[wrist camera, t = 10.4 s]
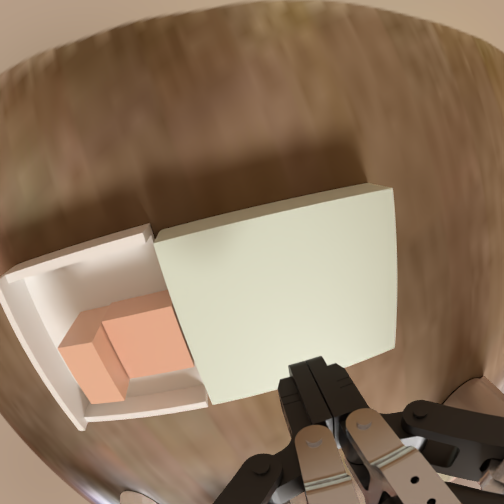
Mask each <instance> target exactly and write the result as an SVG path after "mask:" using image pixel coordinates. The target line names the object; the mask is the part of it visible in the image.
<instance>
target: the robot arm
mask: <svg viewBox="0 0 504 504" xmlns="http://www.w3.org/2000/svg"><path fill="white" fill-rule="evenodd" d="M288 369H289V375H290V377H287V378H283V379H280V381H279V385H278V393H279V397H280V402H281V407H282V411H283V414H284V417H285V420H286V423H287V426H288V430H289V433H290V436H291V442H290V443H289V445H288V446H287V447H286V448H285V449H283V450H282V451H280V452H278V453H277V454H275V455H270V454H257V455H254V456H252V457H250V458H248V459H247V460H246V461H245V462H244V464H243V465H242V466H241V468H240V469H239V470H238V472H237V473H236V475H235V476H234V477H233V479H232V480H231V481H230V483H229V484H228V485H227V486H226V488H225V489H224V490H223V492H222V493H221V494H220V495H219V497H218V498H217V499H216V501H215V502H214V503H213V504H288V502H289V500H290V499H292V498H294V497H295V496H297V495H299V494H301V493H302V492H304V491H305V496H306V500H307V504H360V502H359V500H358V497H357V494H356V491H355V488H354V485H353V482H352V480H351V478H350V476H349V475H347V474H346V471H345V468H344V465H343V462H342V459H341V457H340V454H339V451H338V449H340V448H342V450H343V452H344V454H345V456H344V460H345V463H346V465H347V467H348V469H349V470H350V472H351V474H352V475H353V477H354V479H355V481H356V482H357V484H358V486H359V487H360V489H361V491H362V493H363V495H364V497H365V502H366V504H504V394H503V393H502V392H501V391H500V390H499V389H498V388H497V387H496V386H495V385H493V384H492V383H491V382H490V381H489V380H488V379H487V378H486V377H485V376H483V377H482V378H480V379H479V378H474V379H471V380H469V381H468V382H466V383H464V384H463V385H462V386H461V387H459V388H458V389H457V390H456V391H455V392H454V393H453V394H452V395H451V396H450V397H449V398H448V399H447V400H446V401H445V403H444V404H443V405H442V404H438V403H433V402H429V401H425V400H417V401H414V402H411V403H410V404H408V405H407V406H406V407H405V409H404V411H403V412H398V413H391V414H381V413H378V412H377V411H376V410H373V409H371V408H369V406H368V405H367V403H366V402H365V400H364V399H363V397H362V395H361V394H360V392H359V391H358V389H357V387H356V386H355V384H354V383H353V381H352V380H351V378H350V377H349V375H348V373H347V372H346V370H345V369H344V368H343V367H341V366H340V365H338V364H337V363H334V364H331V365H328V366H327V364H326V362H325V360H324V359H323V357H322V356H318V357H315V358H312V359H308V360H305V361H302V362H298V363H294V364H291V365H288ZM436 472H437V473H441V474H445V475H449V476H454V477H458V478H463V479H467V480H472V481H477V482H478V484H479V485H480V486H481V490H479V489H475V488H471V487H467V486H463V485H459V484H455V483H451V482H444V481H443V480H442V479H441V478H440V476H439V475H438V474H437V473H436Z"/></svg>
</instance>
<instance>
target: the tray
mask: <svg viewBox="0 0 504 504" xmlns="http://www.w3.org/2000/svg"><path fill="white" fill-rule="evenodd" d="M154 241H155V239H154V235H153V232H152V228H151V225H150V223H148V224H144V225H141V226H137V227H134V228H130V229H127V230H123V231H120V232H116V233H113V234H109V235H106V236H103V237H99V238H96V239H93V240H90V241H86V242H83V243H80V244H77V245H73V246H70V247H67V248H64V249H61V250H58V251H55V252H52V253H49V254H46V255H43V256H40V257H37V258H34V259H31V260H28V261H25V262H22V263H19V264H17V265H15V266H14V267H13V268H11V269H10V270H8V271H7V272H6V273H4V274H3V275H2V276H0V303H1V305H2V307H3V309H4V311H5V313H6V316H7V318H8V320H9V322H10V324H11V326H12V328H13V330H14V332H15V334H16V336H17V337H18V339H19V341H20V343H21V345H22V347H23V348H24V350H25V352H26V354H27V355H28V357H29V359H30V361H31V362H32V364H33V366H34V367H35V369H36V371H37V372H38V374H39V375H40V377H41V378H42V380H43V382H44V383H45V385H46V386H47V388H48V389H49V391H50V392H51V394H52V395H53V396H54V398H55V399H56V401H57V402H58V404H59V405H60V406H61V408H62V409H63V410H64V412H65V413H66V414H67V416H68V417H69V418H70V420H71V421H72V422H73V424H74V425H75V426H76V427H77V429H78V430H79V431H85V429H86V426H87V422H97V421H111V420H122V419H132V418H140V417H149V416H156V415H163V414H170V413H176V412H182V411H188V410H194V409H199V408H204V407H208V400H207V390H206V388H205V386H204V383H203V381H202V379H201V376H200V374H199V371H198V369H197V366H196V364H195V361H194V367H192V368H187V369H182V370H177V371H171V372H166V373H161V374H155V375H149V376H143V377H137V378H131V379H130V381H129V385H128V389H127V394H126V398H125V401H119V402H110V403H100V404H91V403H90V401H89V400H88V398H87V397H86V395H85V394H84V392H83V390H82V389H81V387H80V386H79V384H78V383H77V381H76V379H75V378H74V376H73V375H72V373H71V371H70V370H69V368H68V366H67V364H66V363H65V361H64V359H63V357H62V356H61V354H60V352H59V350H58V346H59V345H60V343H61V341H62V340H63V338H64V337H65V335H66V333H67V332H68V330H69V329H70V327H71V325H72V324H73V322H74V321H75V319H76V318H77V316H78V315H79V313H80V312H82V311H86V310H91V309H95V308H100V307H104V306H108V305H110V304H111V303H113V302H117V301H121V300H125V299H130V298H134V297H138V296H143V295H147V294H151V293H155V292H159V291H164V290H168V288H167V285H166V282H165V279H164V276H163V273H162V270H161V267H160V264H159V261H158V257H157V254H156V251H155V248H154V244H153V243H154Z"/></svg>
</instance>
